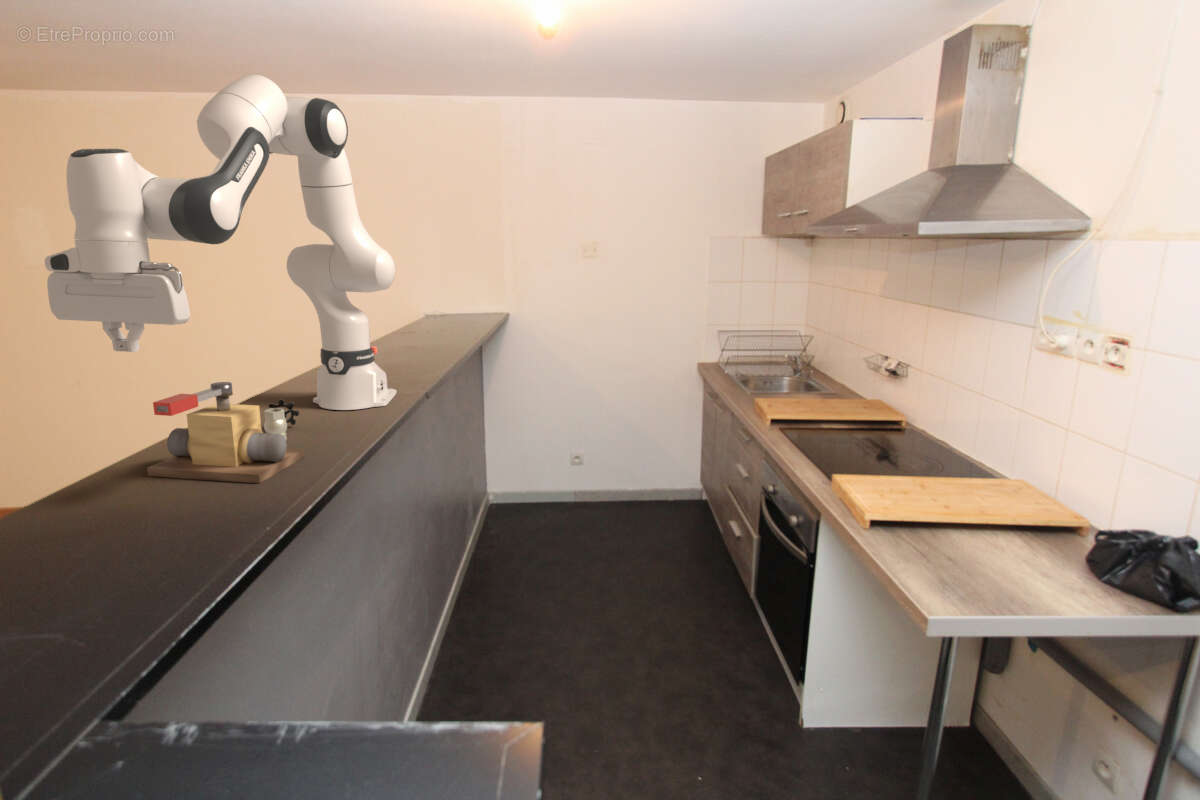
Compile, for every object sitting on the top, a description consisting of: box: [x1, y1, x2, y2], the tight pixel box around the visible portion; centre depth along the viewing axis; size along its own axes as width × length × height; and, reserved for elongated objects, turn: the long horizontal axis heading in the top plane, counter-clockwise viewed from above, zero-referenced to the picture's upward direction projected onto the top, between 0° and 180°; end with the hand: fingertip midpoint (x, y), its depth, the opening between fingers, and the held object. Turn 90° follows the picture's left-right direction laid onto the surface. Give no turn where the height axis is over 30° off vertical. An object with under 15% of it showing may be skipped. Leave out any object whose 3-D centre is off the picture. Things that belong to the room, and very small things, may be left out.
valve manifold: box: [146, 396, 305, 484], centre depth 114 cm, size 14×20×13 cm
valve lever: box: [152, 381, 234, 417], centre depth 106 cm, size 16×3×2 cm, turn 175°
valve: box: [263, 398, 300, 440], centre depth 134 cm, size 7×7×12 cm
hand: (126, 351), depth 100 cm, fingers closed
